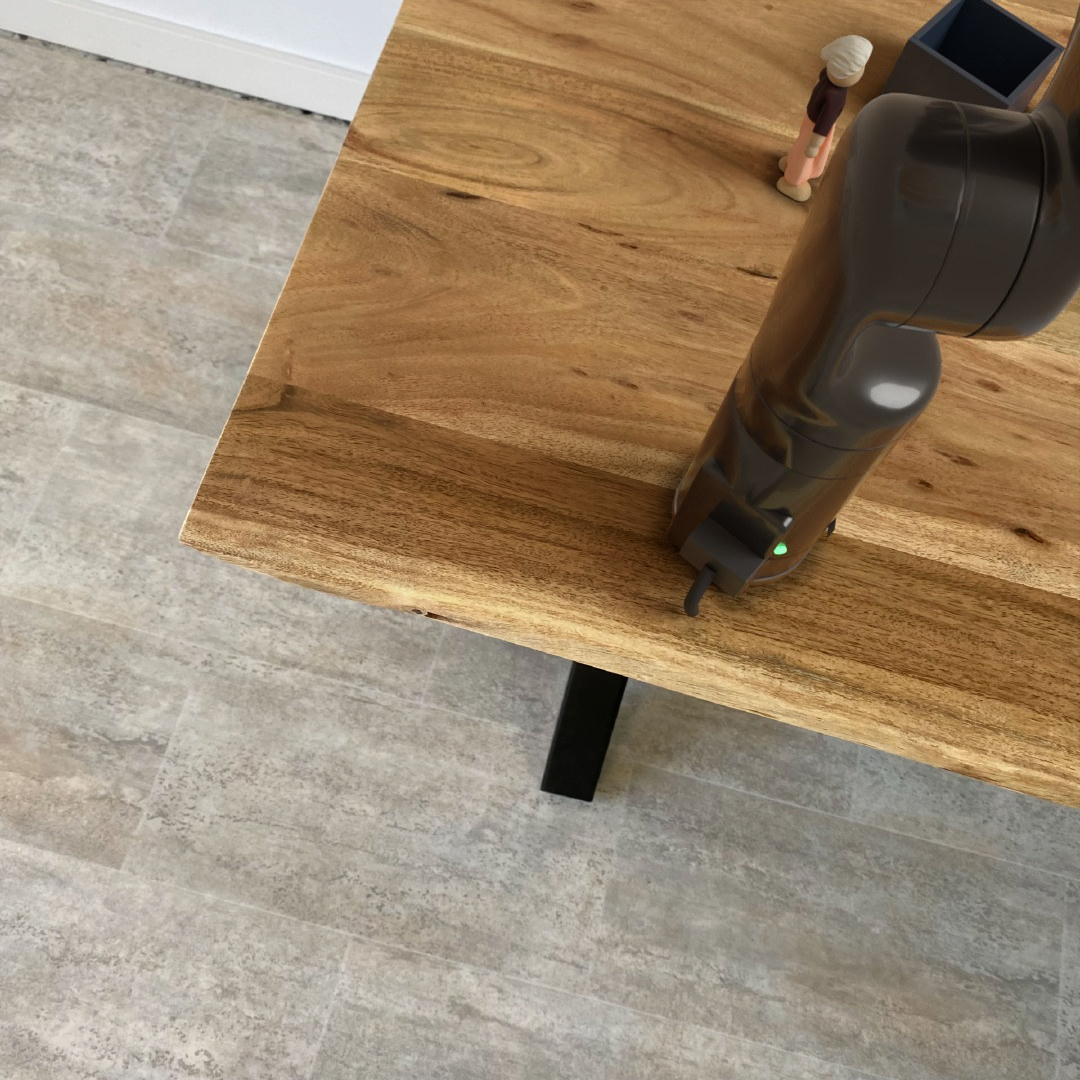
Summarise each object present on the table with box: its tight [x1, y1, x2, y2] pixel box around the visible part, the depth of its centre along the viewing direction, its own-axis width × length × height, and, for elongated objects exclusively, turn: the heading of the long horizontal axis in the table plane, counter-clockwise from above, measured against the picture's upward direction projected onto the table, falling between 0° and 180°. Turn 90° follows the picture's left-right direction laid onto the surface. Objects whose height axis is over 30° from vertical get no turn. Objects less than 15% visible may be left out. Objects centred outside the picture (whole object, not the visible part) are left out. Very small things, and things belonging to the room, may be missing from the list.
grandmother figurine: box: [776, 34, 874, 202], centre depth 79 cm, size 8×4×13 cm, turn 179°
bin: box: [878, 0, 1066, 113], centre depth 88 cm, size 9×9×7 cm
